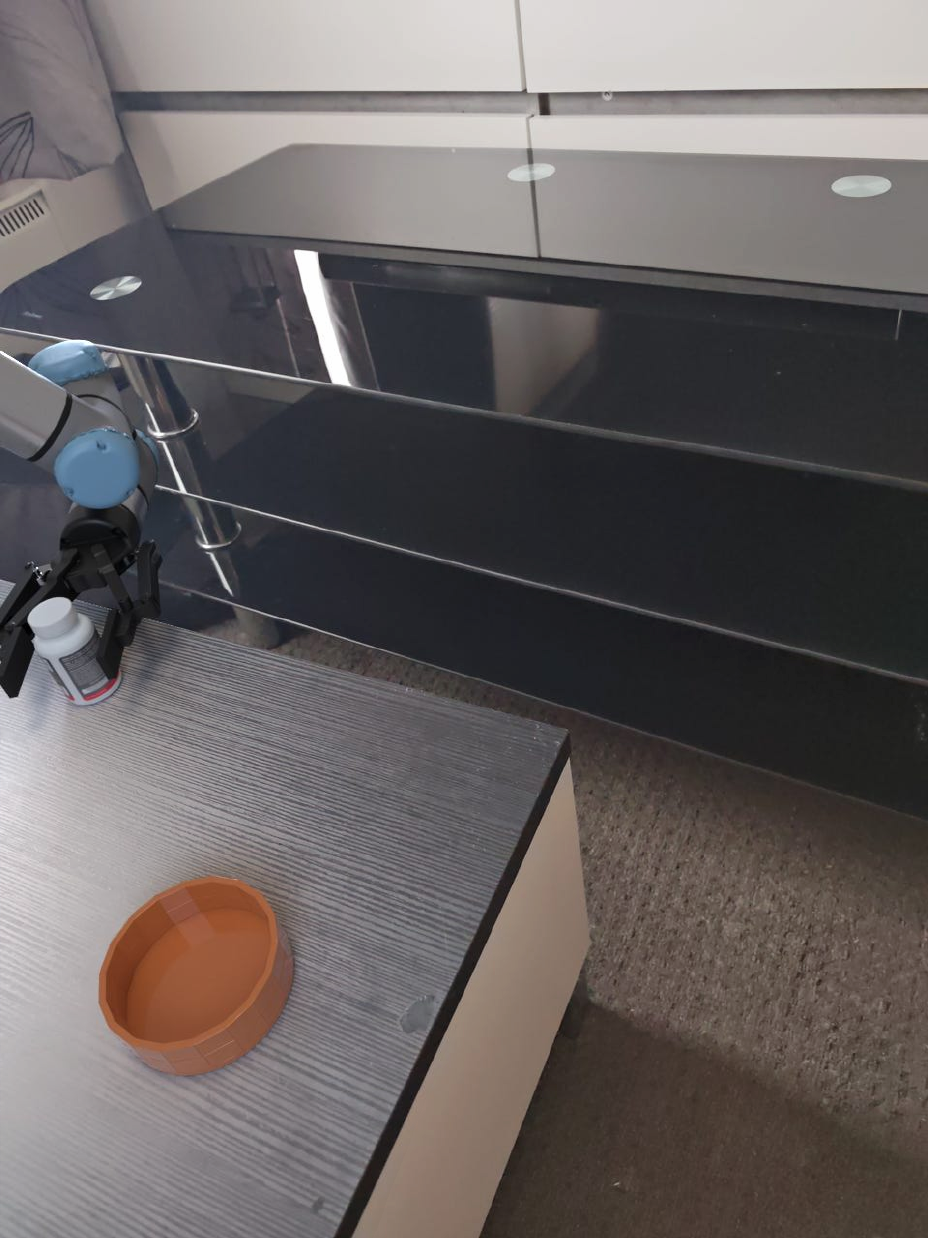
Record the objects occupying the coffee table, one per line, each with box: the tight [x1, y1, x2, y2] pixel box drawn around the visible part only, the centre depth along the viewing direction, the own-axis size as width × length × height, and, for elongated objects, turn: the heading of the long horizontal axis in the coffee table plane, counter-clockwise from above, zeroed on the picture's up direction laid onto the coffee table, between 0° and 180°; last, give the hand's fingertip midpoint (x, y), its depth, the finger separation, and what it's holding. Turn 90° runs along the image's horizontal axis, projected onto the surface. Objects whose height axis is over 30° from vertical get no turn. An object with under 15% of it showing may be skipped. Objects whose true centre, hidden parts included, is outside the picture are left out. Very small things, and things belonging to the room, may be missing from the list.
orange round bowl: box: [97, 875, 295, 1077], centre depth 62 cm, size 12×12×4 cm
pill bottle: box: [28, 597, 122, 706], centre depth 85 cm, size 5×5×10 cm
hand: (56, 677), depth 80 cm, fingers open, 8 cm apart
